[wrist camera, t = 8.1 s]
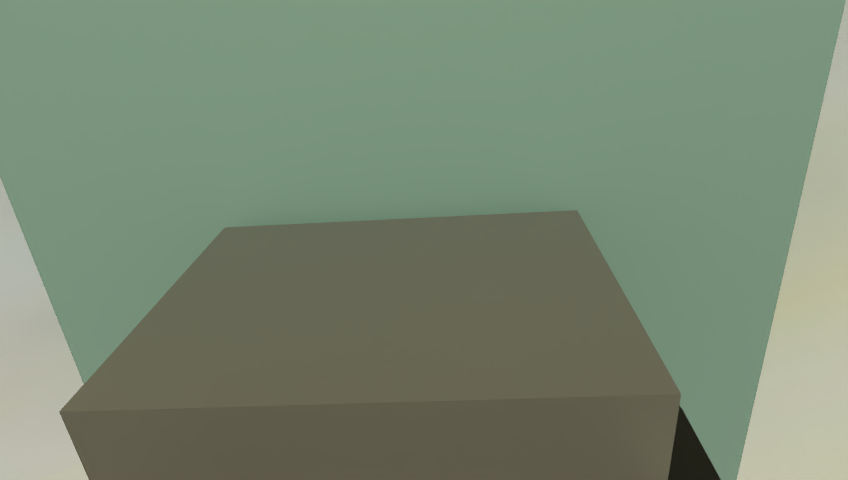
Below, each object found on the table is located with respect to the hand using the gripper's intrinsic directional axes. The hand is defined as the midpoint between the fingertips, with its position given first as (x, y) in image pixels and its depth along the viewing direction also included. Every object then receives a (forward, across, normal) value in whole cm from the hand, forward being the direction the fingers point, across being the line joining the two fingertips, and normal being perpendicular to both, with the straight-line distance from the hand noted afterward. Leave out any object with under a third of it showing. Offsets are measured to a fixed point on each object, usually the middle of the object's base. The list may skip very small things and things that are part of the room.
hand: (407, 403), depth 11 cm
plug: (+5, 0, 0) cm, 5 cm away
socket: (+6, 0, 0) cm, 6 cm away
